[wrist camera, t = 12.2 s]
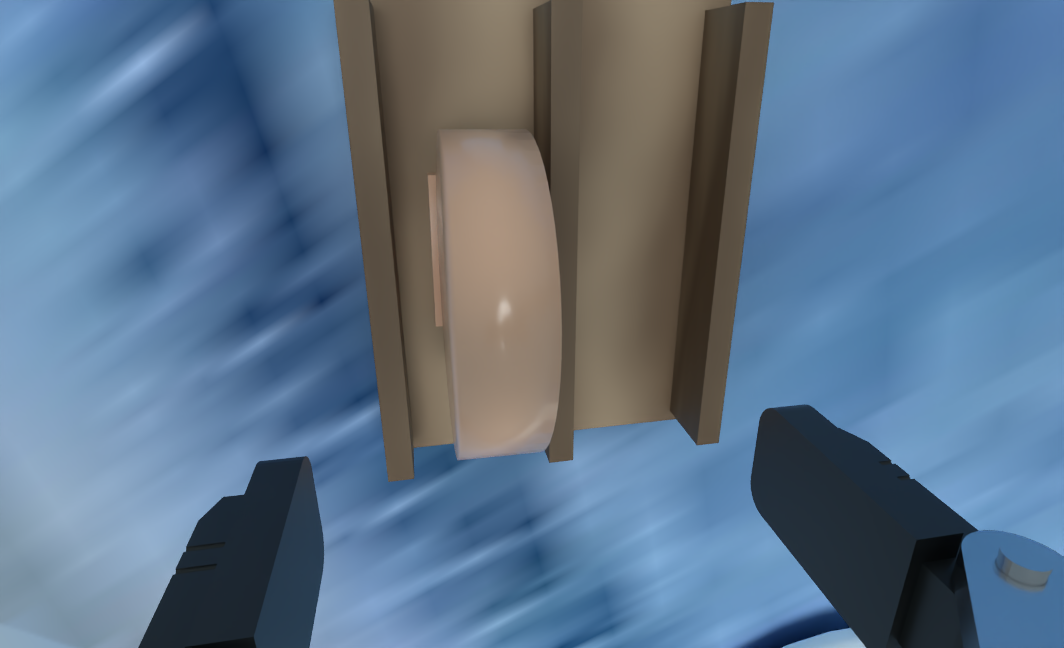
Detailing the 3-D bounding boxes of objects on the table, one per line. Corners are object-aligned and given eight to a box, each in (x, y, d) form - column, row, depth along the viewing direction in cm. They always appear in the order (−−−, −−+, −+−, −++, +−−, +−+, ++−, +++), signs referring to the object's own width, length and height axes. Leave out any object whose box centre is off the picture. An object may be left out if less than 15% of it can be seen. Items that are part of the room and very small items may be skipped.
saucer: (505, 116, 23) (579, 148, 13) (507, 360, 27) (565, 521, 17) (424, 116, 22) (439, 150, 13) (437, 365, 26) (456, 535, 17)
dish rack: (717, -1, 24) (775, -15, 20) (678, 405, 31) (717, 452, 27) (343, -6, 22) (331, -23, 18) (391, 435, 28) (389, 492, 25)
